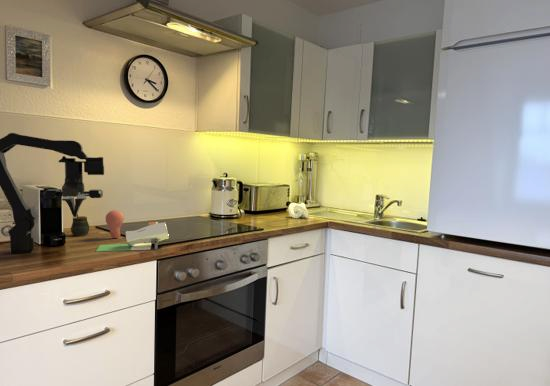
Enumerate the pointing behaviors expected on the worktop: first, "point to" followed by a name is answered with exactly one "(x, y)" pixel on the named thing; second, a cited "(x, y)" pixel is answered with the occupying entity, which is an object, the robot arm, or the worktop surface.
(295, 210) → the white lumpy piece
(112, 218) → the light bulb
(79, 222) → the mate gourd
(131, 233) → the beer glass
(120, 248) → the putting mat
